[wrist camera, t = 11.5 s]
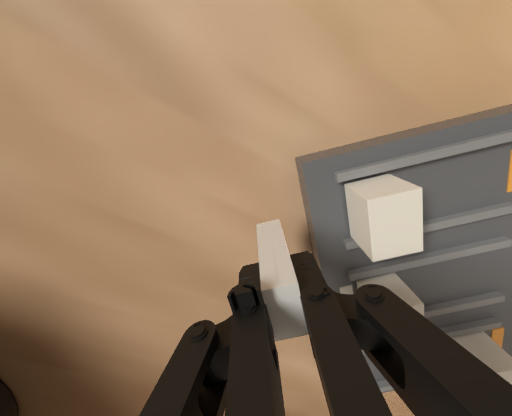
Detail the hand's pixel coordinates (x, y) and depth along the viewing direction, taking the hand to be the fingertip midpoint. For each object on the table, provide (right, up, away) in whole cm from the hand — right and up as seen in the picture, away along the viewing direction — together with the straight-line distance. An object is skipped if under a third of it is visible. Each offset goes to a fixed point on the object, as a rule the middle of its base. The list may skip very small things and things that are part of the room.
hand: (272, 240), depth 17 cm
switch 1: (+7, +2, +1) cm, 7 cm away
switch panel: (+12, -3, +6) cm, 14 cm away
